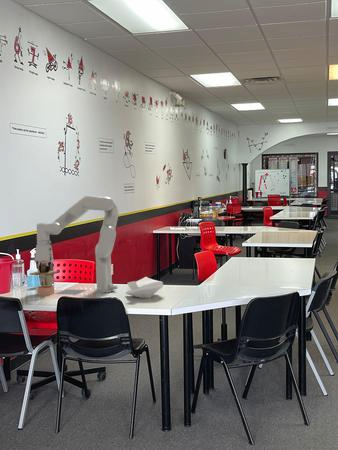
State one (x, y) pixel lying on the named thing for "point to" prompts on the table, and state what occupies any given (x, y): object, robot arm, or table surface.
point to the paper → (144, 288)
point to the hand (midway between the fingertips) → (44, 271)
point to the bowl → (45, 290)
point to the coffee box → (46, 277)
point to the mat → (71, 292)
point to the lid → (44, 271)
